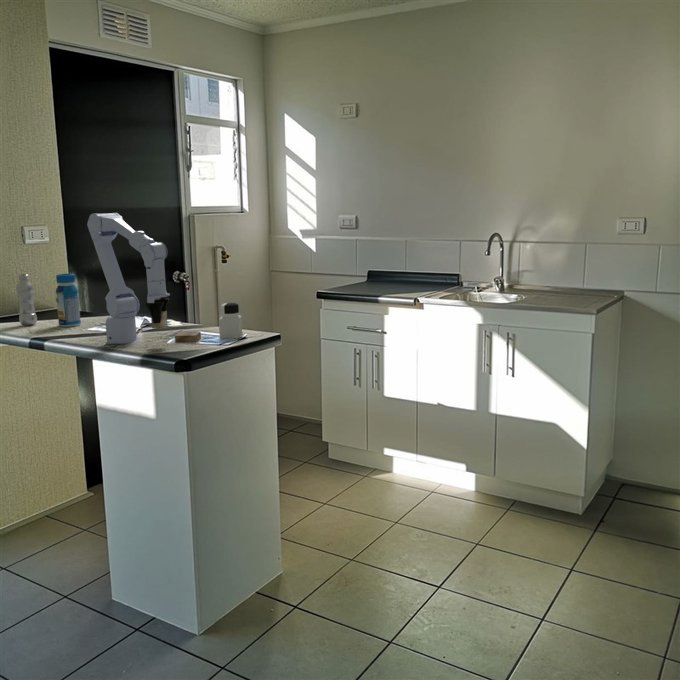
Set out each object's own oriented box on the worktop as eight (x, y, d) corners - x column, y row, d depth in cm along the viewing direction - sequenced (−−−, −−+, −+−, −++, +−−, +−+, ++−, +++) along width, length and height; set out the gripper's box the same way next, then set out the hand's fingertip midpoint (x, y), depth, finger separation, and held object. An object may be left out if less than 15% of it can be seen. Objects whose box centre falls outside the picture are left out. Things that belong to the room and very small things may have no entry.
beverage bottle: (76, 327, 277) (72, 275, 273) (55, 327, 277) (50, 275, 273) (84, 323, 285) (80, 273, 281) (63, 323, 285) (58, 273, 281)
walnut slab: (175, 342, 240) (174, 335, 240) (180, 338, 247) (180, 331, 247) (195, 342, 240) (195, 335, 239) (200, 338, 247) (200, 331, 246)
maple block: (151, 328, 233) (150, 313, 232) (155, 326, 237) (154, 311, 236) (163, 328, 233) (163, 313, 232) (167, 326, 237) (166, 311, 236)
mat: (167, 345, 238) (167, 343, 238) (177, 338, 250) (176, 336, 250) (198, 345, 237) (197, 343, 237) (206, 338, 249) (206, 336, 249)
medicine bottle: (242, 335, 255) (240, 301, 253) (240, 339, 248) (238, 304, 246) (222, 335, 255) (220, 302, 252) (219, 339, 248) (217, 305, 245)
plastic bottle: (22, 327, 278) (17, 275, 274) (17, 325, 283) (12, 274, 280) (39, 325, 282) (34, 274, 278) (34, 323, 287) (29, 273, 284)
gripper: (161, 282, 225) (164, 325, 227) (174, 277, 239) (177, 318, 242) (139, 283, 225) (142, 325, 228) (153, 278, 239) (156, 318, 242)
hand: (159, 321), depth 235 cm, fingers closed on maple block, 4 cm apart
